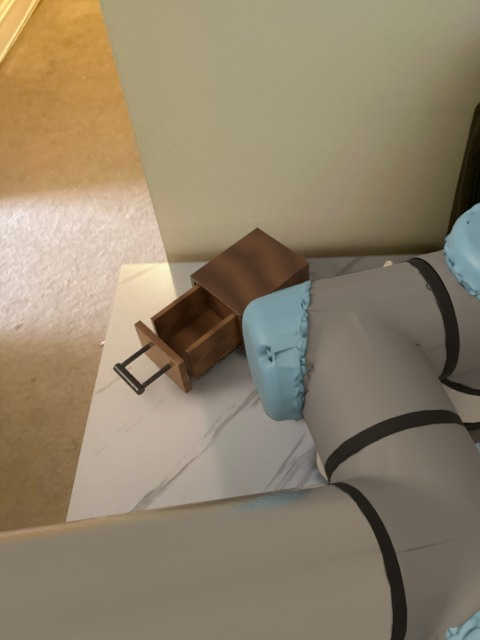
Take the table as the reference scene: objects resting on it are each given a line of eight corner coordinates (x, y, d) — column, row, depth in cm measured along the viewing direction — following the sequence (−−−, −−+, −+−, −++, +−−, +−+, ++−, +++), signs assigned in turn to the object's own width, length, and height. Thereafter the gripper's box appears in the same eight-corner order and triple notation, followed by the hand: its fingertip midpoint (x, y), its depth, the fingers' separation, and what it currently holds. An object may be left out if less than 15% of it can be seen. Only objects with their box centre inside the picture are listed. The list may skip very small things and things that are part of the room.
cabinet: (245, 353, 89) (240, 316, 81) (197, 313, 95) (189, 275, 87) (308, 301, 94) (309, 262, 87) (259, 266, 100) (257, 227, 92)
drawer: (153, 420, 82) (142, 393, 76) (112, 377, 87) (99, 349, 81) (251, 340, 89) (248, 310, 83) (208, 305, 94) (202, 274, 88)
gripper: (422, 504, 37) (376, 586, 55) (569, 337, 44) (485, 459, 63) (335, 430, 41) (319, 530, 59) (484, 287, 48) (429, 416, 66)
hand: (405, 493), depth 61 cm, fingers closed on tray, 6 cm apart
